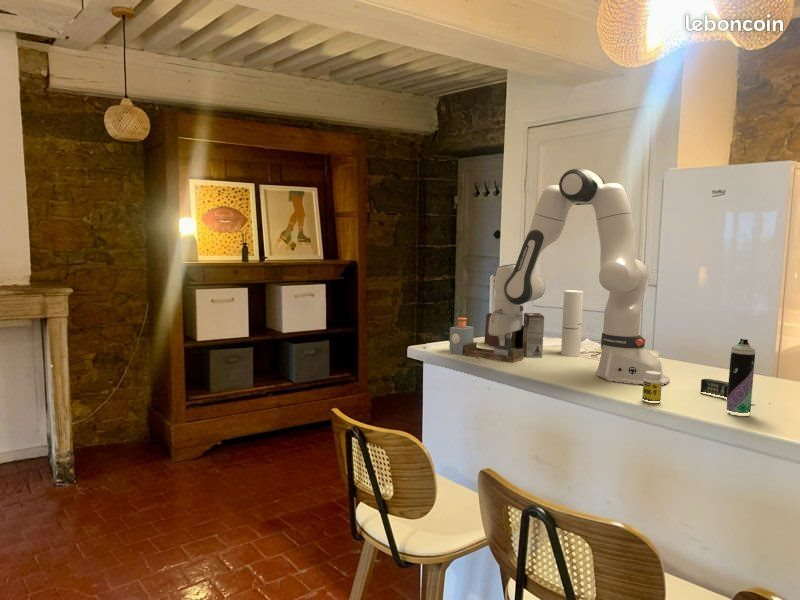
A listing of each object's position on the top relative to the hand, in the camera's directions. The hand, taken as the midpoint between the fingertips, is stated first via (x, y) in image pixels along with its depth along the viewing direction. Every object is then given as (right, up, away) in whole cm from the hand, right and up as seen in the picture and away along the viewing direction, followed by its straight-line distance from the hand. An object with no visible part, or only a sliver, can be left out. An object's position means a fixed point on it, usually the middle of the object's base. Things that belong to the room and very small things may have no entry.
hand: (504, 344), depth 220 cm
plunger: (-15, +3, +11) cm, 19 cm away
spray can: (+50, -14, -64) cm, 83 cm away
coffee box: (+12, -5, +9) cm, 16 cm away
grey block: (-15, -4, +12) cm, 20 cm away
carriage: (0, -4, 0) cm, 4 cm away
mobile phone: (+55, -12, -50) cm, 75 cm away
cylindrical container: (+28, -5, +11) cm, 30 cm away
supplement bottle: (+32, -12, -54) cm, 64 cm away
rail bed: (-4, -5, +4) cm, 7 cm away
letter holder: (+6, -3, +26) cm, 27 cm away
